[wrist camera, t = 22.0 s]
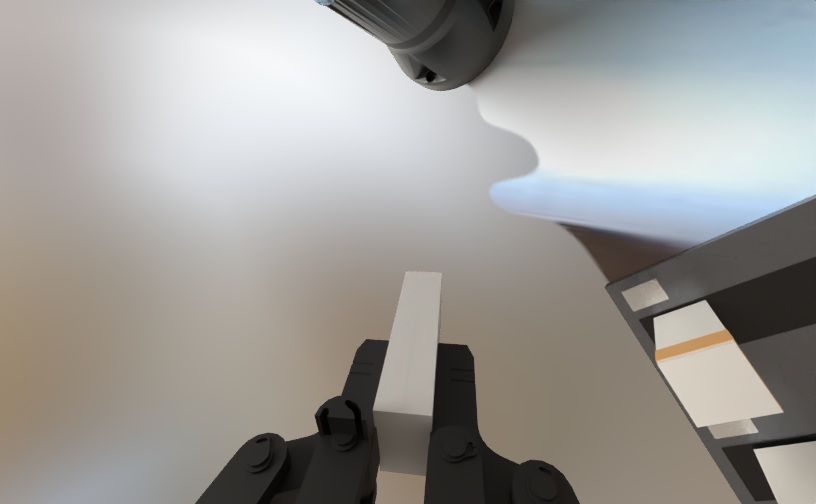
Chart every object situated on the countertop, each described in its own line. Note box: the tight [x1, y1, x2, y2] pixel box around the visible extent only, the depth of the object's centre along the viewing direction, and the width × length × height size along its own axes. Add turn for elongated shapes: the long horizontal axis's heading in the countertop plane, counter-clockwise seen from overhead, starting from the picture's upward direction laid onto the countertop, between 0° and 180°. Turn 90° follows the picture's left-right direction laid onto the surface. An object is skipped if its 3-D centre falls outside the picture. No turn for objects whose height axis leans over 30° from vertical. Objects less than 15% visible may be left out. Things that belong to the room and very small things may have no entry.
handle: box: [654, 300, 784, 428], centre depth 24 cm, size 4×4×12 cm
